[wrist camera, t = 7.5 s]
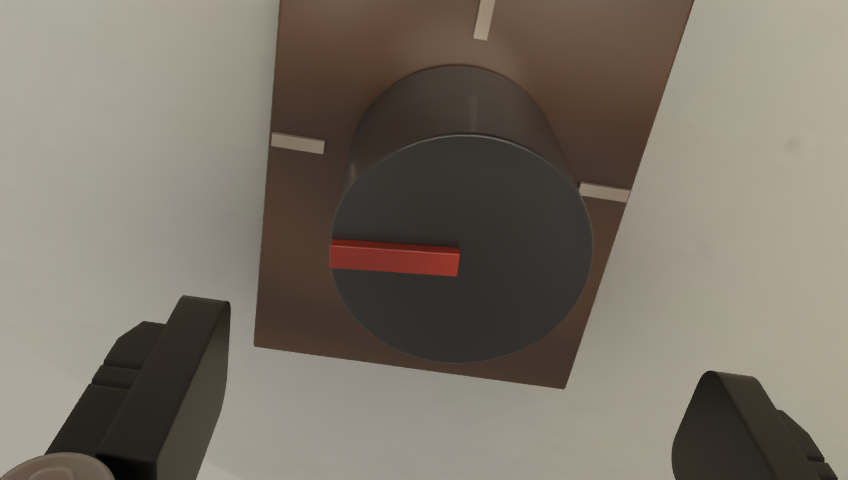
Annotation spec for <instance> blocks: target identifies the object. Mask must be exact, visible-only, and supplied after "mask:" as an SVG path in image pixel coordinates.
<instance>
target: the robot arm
mask: <svg viewBox="0 0 848 480" xmlns="http://www.w3.org/2000/svg"><path fill="white" fill-rule="evenodd" d="M230 316H231V307H230V303H229V302H228V301H221V300H214V299H207V298H200V297H193V296H186V295H183V296H182V297H181V298H180V300H179V301H178V303H177V305H176V307H175V309H174V310H173V312H172V314H171V316H170V318H169V319H168V321H167V323H166V324H161V323H153V322H146V321H143V322H141V323H140V324H139V325H137V326H136V327H134V328H133V329H131V330H130V331H128V332H127V333H125V334H124V335H122V336H121V337H119V338H118V339H117V341H116V342H115V344H114V345H113V347H112V349H111V350H110V352H109V353H108V355H107V357H106V358H105V360H104V363H103V365H101V366H100V368H99V369H98V371H97V372H96V374H95V375H94V377H93V379H92V383H91V384H89V385H88V387H87V388H86V390H85V391H84V393H83V394H82V396H81V398H80V399H79V401H78V402H77V404H76V406H75V407H74V409H73V410H72V412H71V413H70V415H69V417H68V418H67V420H66V422H65V423H64V425H63V426H62V428H61V429H60V431H59V432H58V434H57V436H56V437H55V439H54V440H53V442H52V444H51V445H50V447H49V448H48V450H47V451H46V453H45V454H44V455H43V456H39V457H36V458H33V459H30V460H27V461H25V462H23V463H21V464H19V465H17V466H16V467H14V468H13V469H11V470H10V471H8V472H7V473H6V474H5V475H3V476H2V477H1V478H0V480H196V478H197V475H198V472H199V469H200V467H201V464H202V461H203V459H204V456H205V453H206V450H207V448H208V445H209V442H210V440H211V437H212V434H213V431H214V429H215V426H216V423H217V420H218V418H219V415H220V412H221V408H222V404H223V400H224V395H225V389H226V382H227V369H228V351H229V333H230ZM824 459H825V458H824V457H823V455H822V454H821V452H820V451H819V449H818V447H817V446H816V444H815V443H814V441H813V440H812V438H811V437H810V435H809V434H808V433H807V432H806V431H805V430H804V429H803V428H802V427H800V426H799V425H798V424H797V423H796V422H795V421H794V420H793V419H791V418H790V417H789V416H788V415H787V414H786V413H785V412H784V411H782V410H777V409H776V408H775V406H774V405H773V403H772V402H771V400H770V398H769V397H768V395H767V394H766V392H765V390H764V389H763V387H762V386H761V384H760V383H759V381H758V380H757V379H756V378H754V377H752V376H745V375H738V374H730V373H723V372H716V371H707V372H705V373H704V374H703V375H702V377H701V378H700V380H699V382H698V384H697V387H696V389H695V391H694V394H693V396H692V398H691V401H690V403H689V405H688V408H687V410H686V412H685V415H684V417H683V419H682V422H681V424H680V426H679V429H678V431H677V433H676V436H675V439H674V442H673V447H672V469H673V473H674V476H675V479H676V480H838V478H837V476H836V475H835V473H834V472H833V470H832V469H831V467H830V466H829V464H828V463H824Z"/></svg>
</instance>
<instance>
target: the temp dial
mask: <svg viewBox="0 0 848 480" xmlns="http://www.w3.org/2000/svg"><path fill="white" fill-rule="evenodd" d="M592 258H593V232H592V226H591V220H590V217H589V214H588V211H587V208H586V205H585V203H584V201H583V198H582V196H581V194H580V192H579V189H578V187H577V185H576V182H575V180H574V178H573V176H572V173H571V171H570V169H569V167H568V164H567V162H566V160H565V158H564V155H563V153H562V151H561V148H560V146H559V144H558V142H557V139H556V137H555V135H554V133H553V130H552V128H551V126H550V124H549V122H548V120H547V118H546V116H545V114H544V113H543V111H542V110H541V108H540V107H539V105H538V104H537V103H536V102H535V101H534V99H533V98H532V97H531V96H530V95H529V94H528V93H527V92H526V91H524V90H523V89H522V88H521V87H519V86H518V85H517V84H515V83H514V82H512V81H510V80H509V79H507V78H505V77H503V76H501V75H498V74H496V73H494V72H491V71H487V70H484V69H480V68H475V67H468V66H443V67H435V68H431V69H427V70H423V71H420V72H417V73H415V74H412V75H409V76H407V77H405V78H404V79H402V80H400V81H398V82H396V83H395V84H393V85H392V86H391V87H389V88H388V89H387V90H385V91H384V92H383V93H382V94H381V95H380V96H379V97H378V98H377V99H376V100H375V101H374V102H373V103H372V104H371V106H370V107H369V108H368V110H367V111H366V112H365V114H364V116H363V117H362V119H361V121H360V123H359V125H358V127H357V130H356V132H355V135H354V138H353V142H352V146H351V150H350V154H349V158H348V162H347V166H346V170H345V174H344V179H343V183H342V187H341V191H340V195H339V199H338V203H337V207H336V211H335V215H334V219H333V223H332V227H331V231H330V239H329V266H330V268H331V273H332V278H333V280H334V283H335V286H336V289H337V291H338V293H339V295H340V297H341V299H342V301H343V303H344V304H345V306H346V307H347V309H348V310H349V312H350V313H351V314H352V316H353V317H354V318H355V319H356V320H357V321H358V322H359V323H360V325H361V326H362V327H363V328H364V329H365V330H367V331H368V332H369V333H370V334H372V335H373V336H374V337H375V338H377V339H378V340H380V341H381V342H383V343H385V344H386V345H388V346H389V347H392V348H394V349H396V350H398V351H400V352H402V353H404V354H407V355H410V356H413V357H416V358H420V359H424V360H428V361H433V362H441V363H458V364H465V363H476V362H483V361H488V360H493V359H497V358H501V357H504V356H507V355H510V354H513V353H515V352H517V351H519V350H522V349H524V348H526V347H528V346H530V345H531V344H533V343H535V342H536V341H538V340H540V339H541V338H542V337H544V336H545V335H546V334H548V333H549V332H551V331H552V330H553V329H554V328H555V327H556V326H557V325H558V324H559V323H560V322H561V321H562V320H563V319H564V318H565V317H566V316H567V314H568V313H569V312H570V311H571V309H572V308H573V307H574V305H575V303H576V302H577V300H578V299H579V297H580V295H581V293H582V291H583V289H584V287H585V284H586V282H587V279H588V276H589V273H590V269H591V265H592Z"/></svg>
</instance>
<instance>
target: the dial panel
mask: <svg viewBox="0 0 848 480" xmlns="http://www.w3.org/2000/svg"><path fill="white" fill-rule="evenodd" d="M693 3H694V0H280V3H279V16H278V29H277V42H276V55H275V68H274V81H273V95H272V108H271V121H270V134H269V147H268V160H267V173H266V186H265V199H264V213H263V226H262V239H261V252H260V265H259V278H258V291H257V304H256V318H255V331H254V346H255V347H261V348H268V349H275V350H282V351H290V352H297V353H304V354H311V355H319V356H326V357H333V358H340V359H348V360H355V361H362V362H369V363H377V364H384V365H391V366H398V367H405V368H413V369H420V370H427V371H434V372H442V373H449V374H456V375H463V376H471V377H478V378H485V379H492V380H500V381H507V382H514V383H521V384H529V385H536V386H543V387H550V388H557V389H565V387H566V385H567V382H568V379H569V376H570V373H571V370H572V367H573V364H574V361H575V357H576V354H577V351H578V348H579V345H580V342H581V339H582V336H583V333H584V330H585V327H586V324H587V321H588V318H589V315H590V312H591V309H592V306H593V303H594V300H595V297H596V294H597V291H598V288H599V285H600V282H601V279H602V276H603V273H604V270H605V267H606V264H607V261H608V258H609V255H610V252H611V249H612V246H613V243H614V240H615V237H616V234H617V231H618V228H619V225H620V222H621V219H622V216H623V213H624V210H625V207H626V204H627V201H628V198H629V195H630V192H631V189H632V186H633V183H634V180H635V177H636V174H637V171H638V168H639V165H640V162H641V159H642V156H643V153H644V150H645V147H646V144H647V141H648V138H649V135H650V132H651V129H652V126H653V123H654V120H655V117H656V114H657V111H658V108H659V105H660V102H661V99H662V96H663V93H664V90H665V87H666V84H667V81H668V78H669V75H670V72H671V69H672V66H673V63H674V60H675V57H676V54H677V51H678V48H679V45H680V42H681V39H682V36H683V33H684V30H685V27H686V24H687V21H688V18H689V15H690V12H691V9H692V6H693ZM443 66H468V67H475V68H480V69H484V70H487V71H491V72H494V73H496V74H498V75H501V76H503V77H505V78H507V79H509V80H510V81H512V82H514V83H515V84H517V85H518V86H519V87H521V88H522V89H523V90H524V91H526V92H527V93H528V94H529V95H530V96H531V97H532V98H533V99H534V101H535V102H536V103H537V104H538V105H539V107H540V108H541V110H542V111H543V113H544V114H545V116H546V118H547V120H548V122H549V124H550V126H551V128H552V130H553V133H554V135H555V137H556V139H557V142H558V144H559V146H560V148H561V151H562V153H563V155H564V158H565V160H566V162H567V164H568V167H569V169H570V171H571V173H572V176H573V178H574V180H575V182H576V185H577V187H578V189H579V192H580V194H581V196H582V198H583V201H584V203H585V205H586V208H587V211H588V214H589V217H590V220H591V226H592V232H593V258H592V265H591V269H590V273H589V276H588V279H587V282H586V284H585V287H584V289H583V291H582V293H581V295H580V297H579V299H578V300H577V302H576V303H575V305H574V307H573V308H572V309H571V311H570V312H569V313H568V314H567V316H566V317H565V318H564V319H563V320H562V321H561V322H560V323H559V324H558V325H557V326H556V327H555V328H554V329H553V330H552V331H551V332H549V333H548V334H546V335H545V336H544V337H542V338H541V339H540V340H538V341H536V342H535V343H533V344H531V345H530V346H528V347H526V348H524V349H522V350H519V351H517V352H515V353H513V354H510V355H507V356H504V357H501V358H497V359H493V360H488V361H483V362H476V363H465V364H458V363H441V362H433V361H428V360H424V359H420V358H416V357H413V356H410V355H407V354H404V353H402V352H400V351H398V350H396V349H394V348H392V347H389V346H388V345H386V344H385V343H383V342H381V341H380V340H378V339H377V338H375V337H374V336H373V335H372V334H370V333H369V332H368V331H367V330H365V329H364V328H363V327H362V326H361V325H360V323H359V322H358V321H357V320H356V319H355V318H354V317H353V316H352V314H351V313H350V312H349V310H348V309H347V307H346V306H345V304H344V303H343V301H342V299H341V297H340V295H339V293H338V291H337V289H336V286H335V283H334V280H333V278H332V273H331V268H330V266H329V239H330V231H331V227H332V223H333V219H334V215H335V211H336V207H337V203H338V199H339V195H340V191H341V187H342V183H343V179H344V174H345V170H346V166H347V162H348V158H349V154H350V150H351V146H352V142H353V138H354V135H355V132H356V130H357V127H358V125H359V123H360V121H361V119H362V117H363V116H364V114H365V112H366V111H367V110H368V108H369V107H370V106H371V104H372V103H373V102H374V101H375V100H376V99H377V98H378V97H379V96H380V95H381V94H382V93H383V92H384V91H385V90H387V89H388V88H389V87H391V86H392V85H393V84H395V83H396V82H398V81H400V80H402V79H404V78H405V77H407V76H409V75H412V74H415V73H417V72H420V71H423V70H427V69H431V68H435V67H443Z"/></svg>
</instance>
